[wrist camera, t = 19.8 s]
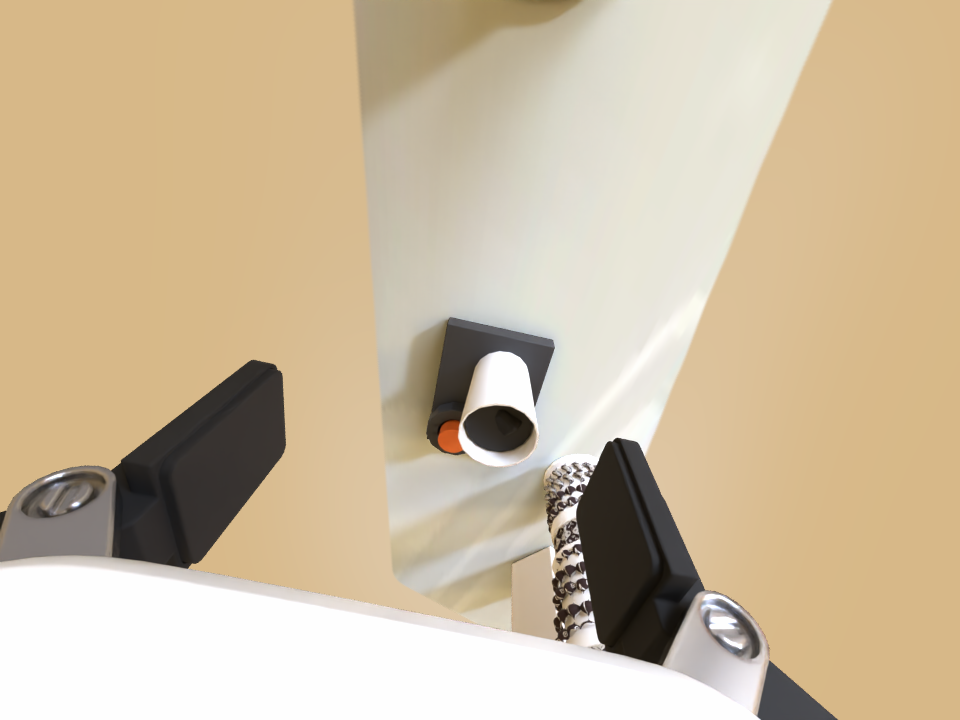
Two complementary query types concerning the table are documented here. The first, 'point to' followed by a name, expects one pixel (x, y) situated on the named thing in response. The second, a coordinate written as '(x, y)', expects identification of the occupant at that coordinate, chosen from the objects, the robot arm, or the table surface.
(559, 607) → the decorative candle
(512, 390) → the white cup
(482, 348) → the scale
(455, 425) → the tare button
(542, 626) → the milk carton
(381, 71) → the table surface
